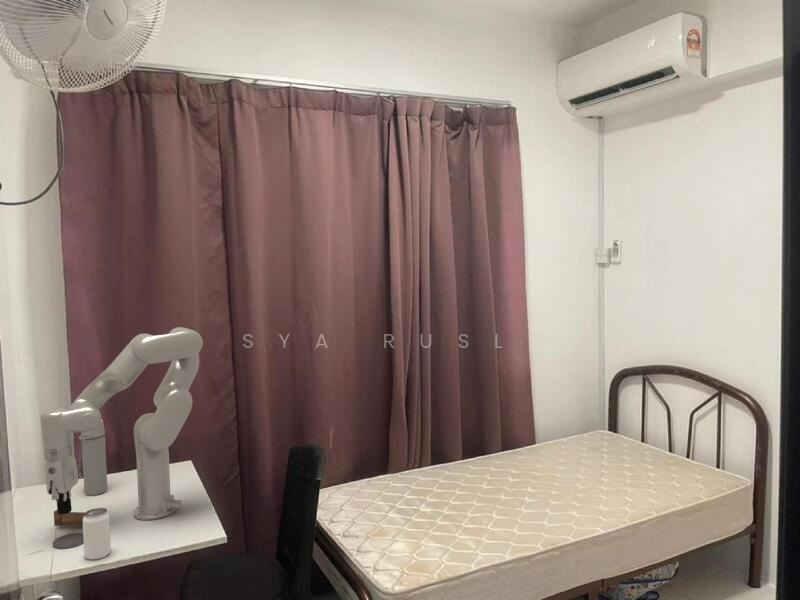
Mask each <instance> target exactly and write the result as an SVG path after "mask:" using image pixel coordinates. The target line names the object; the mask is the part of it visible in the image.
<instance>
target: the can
mask: <svg viewBox="0 0 800 600" xmlns="http://www.w3.org/2000/svg"><path fill="white" fill-rule="evenodd" d="M110 525H111V522H110V514H109V512H108V509H107V508H105V507H97V508H92V509H91V508H90V509H89V510H87V511H85V513H84V518H83V526H82V533H83V539H84V543H83V553H84V554H83V555H84V558H85V559H86V560H88V561H97V560H101V559H104V558H105V557H107V556H109V555H110V553H111V551H112V550H111V549H112V547H111V546H112V545H111V528H110V527H111V526H110Z"/></svg>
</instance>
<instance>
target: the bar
mask: <svg viewBox="0 0 800 600" xmlns="http://www.w3.org/2000/svg"><path fill="white" fill-rule="evenodd" d="M83 518H84V512H77V511H70V512H69V513H68V514H58V510H57V509H55V510H54V511H53V523H54V527H62V526H63V527H64V526H67V527H83Z"/></svg>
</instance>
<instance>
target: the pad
mask: <svg viewBox="0 0 800 600" xmlns="http://www.w3.org/2000/svg"><path fill="white" fill-rule="evenodd" d="M81 545H84V539H83V532H73V533H68V534H65V535H64V534H63V535H61V536H60V537H56V539H54V540H53V542H52V547H53V548H54V549H57V550H67V549H68V550H69V549H73V548H76V547H79V546H81Z"/></svg>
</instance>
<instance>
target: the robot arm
mask: <svg viewBox="0 0 800 600" xmlns="http://www.w3.org/2000/svg"><path fill="white" fill-rule="evenodd" d="M203 345H204V341H203V338H202V336H201V334H200V333H199V332H197V331H196V330H193V329H190V328H188V327H187V328H186V327H182V326H181V327H180V326H179V327H175V328H172V330H170V331H169V333H165V334H158V335H153V334H150V333H139V334H137V335H135V337H133V338H132V339H131V340H130V342H129V343H128V344H127V345H126V346H125V347H124V349H122V351H121V352H120V353H119V354H118V355H117V356H116V358H115V359H114V360H113V361H112V362H111V364H110V365H109V366H108V367H107V368H106V369H105V370H103V371H102V372H101V373H100V375H98V376H97V377H96V378H95V379H94V380H92V381H91V382H90V383H89V384H88V385H87V386H86V387H85V388H84V390H83V391H81V393H80V394H79V395H78V396H77V398H76V399H75V400H74V401H73V402H72V404H71V405H70V407H69V409H67V408H63V407H60V408H52V409H48V410H45V411H44V412H42V413H41V415H40V429H41V439H42V449H43V458H44V459H43V460H44V461H45V484H46V491H47V494H48V495H51V501H55V502H56V510H58V514H68V513H69V512H72V511H73V510H72V498H71V496H72V488H74V487H75V486H76V485H77V484H78V482H79V479H80V477H79V469H78V466H77V460H76V455H75V453H74V452H75V451H74V442H73V440H74V439H73V434H74V433H81V432H87V431H91V430H94V429H95V428H97V427H98V425H99V424H100V422H101V419H102V414H101V412H100V409H101V408H102V407H103V406H104V405H105V403H106V402H108V401H109V399H110V398H111V397H113V396H114V395H115V394H118V393H120V392H122V391H123V390H126V389H127V388H129V387H130V386H132V384H133V383H134V382H135V381H136V380H137V378H138V377H139V376H140V375H141V373H143V371H144V370H145V369H146V367H147V366H148V365H151V364H152V365H153V364H161V363H167V362H171V364H170V365H169V367H168V369H167V372H166V374H165V375H164V377H163V379H162V380H161V382H160V384H159V386H158V387H157V389H156V391H155V393H154V396H153V403H154V405H155V407H156V411H155V412H148V413H144V414H142V415H141V416H140V417H138V419H137V420H136V421H135V423H134V426H133V439H134V448H135V456H136V458H135V459H136V475H137V477H136V478H137V498H138V503H137V504H138V506H137V507H136V508H134V510H133V518H136V519H138V520H141V521H142V520H143V521H151V520H157V519H161V518H165V517H168V516H170V515H171V514H173V513H174V512H175V511H176V510H177V509H179V510H180V509H182V507H183V500H182V499H175V496H174V494H171V472H170V453H169V447H171V445H172V444H173V443H174V441H175V440H176V438H177V437H178V435H179V433H180V432H181V430H182V428H183V426H184V424H185V423H186V420H187V419H188V418H189V417H188V416H189V415H190V413H191V410H192V408H193V397H192V394H191V392H190V391H189V390H190V388H191V385H192V384H193V382H194V379H195V378H196V376H197V374H198V370H199V367H200V354H199V353H200V351H201V350H202V348H203Z"/></svg>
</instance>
